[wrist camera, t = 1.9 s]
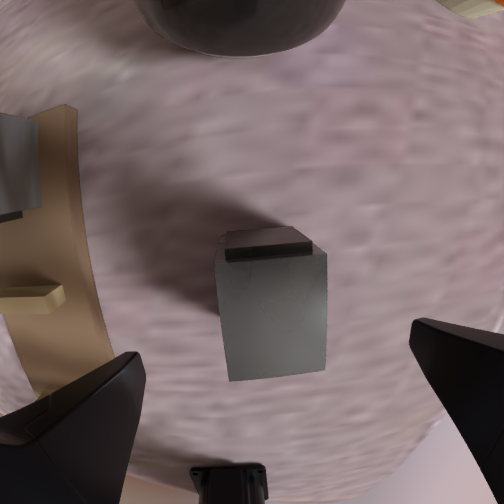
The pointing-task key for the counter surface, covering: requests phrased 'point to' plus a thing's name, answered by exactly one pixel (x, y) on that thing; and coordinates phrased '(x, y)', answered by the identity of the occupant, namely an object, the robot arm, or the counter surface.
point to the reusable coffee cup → (473, 7)
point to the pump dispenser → (239, 24)
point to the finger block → (271, 303)
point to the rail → (47, 252)
